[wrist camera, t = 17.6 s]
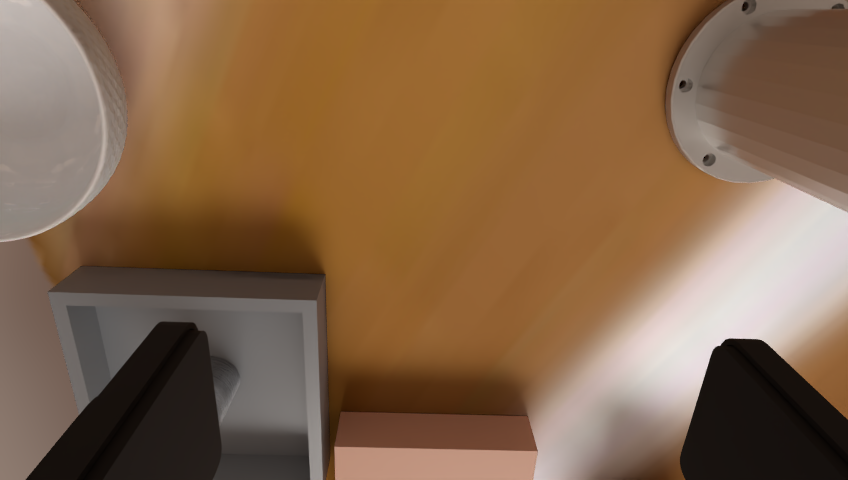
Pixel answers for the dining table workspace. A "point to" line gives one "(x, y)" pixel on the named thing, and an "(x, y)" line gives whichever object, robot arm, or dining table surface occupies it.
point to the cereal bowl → (54, 114)
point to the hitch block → (433, 447)
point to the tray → (216, 353)
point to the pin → (224, 384)
